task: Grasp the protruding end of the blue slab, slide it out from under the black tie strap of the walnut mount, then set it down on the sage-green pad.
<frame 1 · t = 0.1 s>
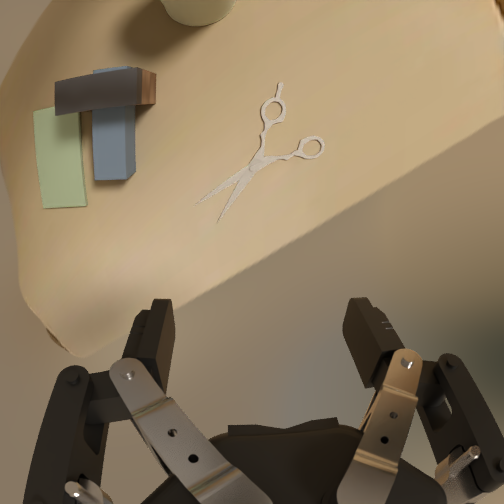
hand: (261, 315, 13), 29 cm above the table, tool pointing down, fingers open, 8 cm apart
tie mount: (119, 92, 33), on the table
blue slab: (120, 121, 35), on the table
scissors: (255, 162, 39), on the table
pad: (59, 156, 36), on the table
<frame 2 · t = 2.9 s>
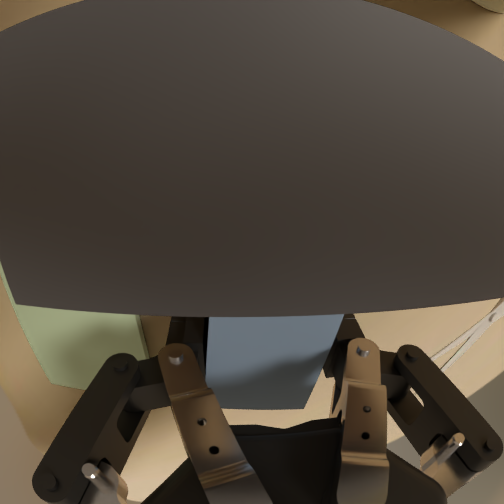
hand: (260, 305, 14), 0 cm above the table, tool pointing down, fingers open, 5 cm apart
tie mount: (272, 121, 11), on the table
blue slab: (271, 218, 13), on the table, touching gripper, tie mount
scissors: (494, 302, 17), on the table
pad: (66, 294, 14), on the table
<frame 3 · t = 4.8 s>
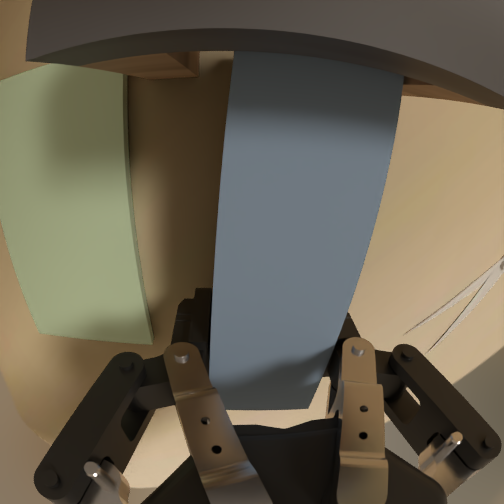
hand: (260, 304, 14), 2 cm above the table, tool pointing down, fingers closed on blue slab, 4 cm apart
tie mount: (275, 34, 10), on the table
blue slab: (271, 218, 13), point 1 cm above the table, touching gripper
pad: (61, 217, 13), on the table
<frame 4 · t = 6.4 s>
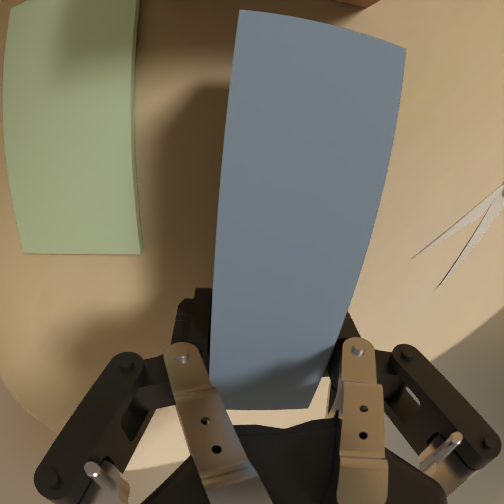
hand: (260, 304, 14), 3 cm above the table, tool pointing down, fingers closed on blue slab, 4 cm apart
blue slab: (271, 218, 13), point 3 cm above the table, touching gripper
scissors: (503, 179, 16), on the table
pad: (63, 116, 12), on the table
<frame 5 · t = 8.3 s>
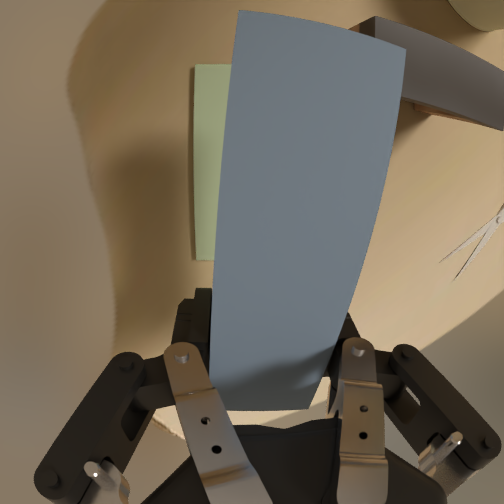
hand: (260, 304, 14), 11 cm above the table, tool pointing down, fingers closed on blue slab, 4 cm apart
tie mount: (384, 78, 19), on the table
blue slab: (271, 219, 13), point 10 cm above the table, touching gripper
scissors: (497, 211, 26), on the table
pad: (249, 166, 22), on the table
when the fingers open (2 cm above the table, at t = 9.9 s): blue slab drops 1 cm, resting on pad.
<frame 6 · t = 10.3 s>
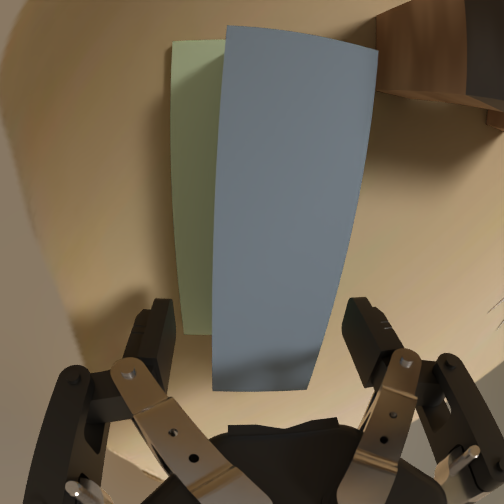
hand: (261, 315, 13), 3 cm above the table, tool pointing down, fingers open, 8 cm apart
tie mount: (454, 77, 11), on the table
blue slab: (266, 211, 14), point 1 cm above the table, touching pad
pad: (260, 204, 14), on the table
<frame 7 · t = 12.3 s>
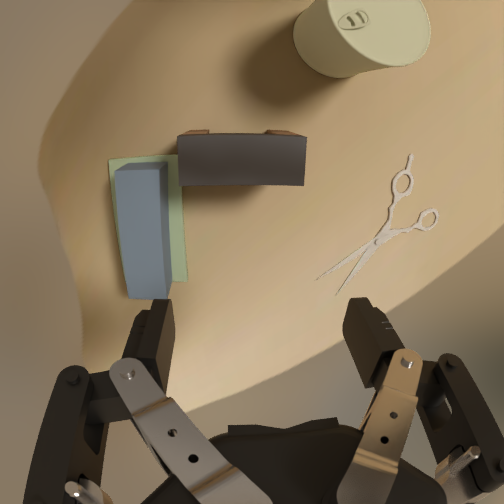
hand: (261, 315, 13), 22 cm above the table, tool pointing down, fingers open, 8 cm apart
tie mount: (238, 148, 31), on the table
blue slab: (150, 224, 33), point 1 cm above the table, touching pad
scissors: (378, 234, 37), on the table
can: (334, 40, 26), on the table
pad: (149, 221, 33), on the table
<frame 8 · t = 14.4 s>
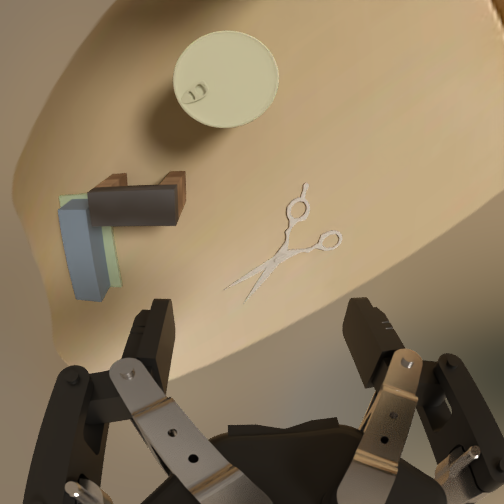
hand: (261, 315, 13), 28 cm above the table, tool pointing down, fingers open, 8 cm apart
tie mount: (148, 186, 38), on the table
blue slab: (90, 244, 41), point 1 cm above the table, touching pad
scissors: (278, 253, 45), on the table
can: (227, 85, 33), on the table
pad: (90, 241, 41), on the table
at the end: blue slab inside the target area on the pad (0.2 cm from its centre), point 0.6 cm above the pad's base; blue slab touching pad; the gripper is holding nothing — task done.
